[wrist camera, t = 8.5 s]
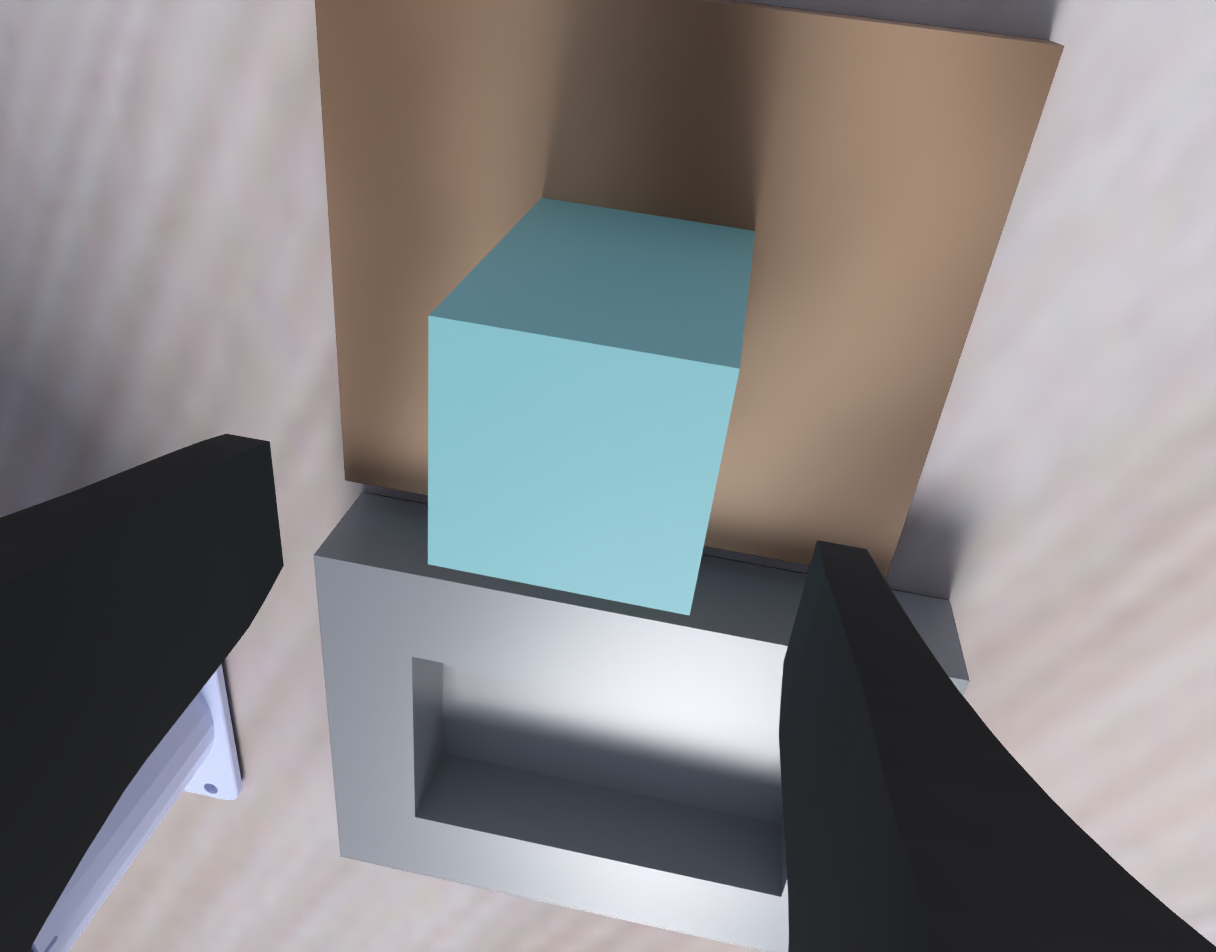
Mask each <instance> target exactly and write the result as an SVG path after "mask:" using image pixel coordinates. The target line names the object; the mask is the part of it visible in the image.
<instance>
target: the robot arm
mask: <svg viewBox="0 0 1216 952" xmlns="http://www.w3.org/2000/svg"><path fill="white" fill-rule="evenodd" d="M283 566H284V565H283V556H282V547H281V538H280V529H279V520H278V512H277V503H276V494H275V485H274V476H273V467H272V458H271V449H270V442H269V441H263V440H258V439H252V438H247V437H241V436H236V435H230V434H224V435H221V436H217V437H214V438H210V439H207V440H204V441H201V442H199V443H196V444H193V445H190V446H188V447H185V448H182V449H180V450H177V451H174V452H172V453H169V454H167V455H164V456H162V457H159V458H157V459H154V460H152V461H149V462H147V463H144V464H141V465H139V466H136V467H134V468H131V469H129V470H126V471H124V472H121V473H119V474H116V475H114V476H111V477H109V478H106V479H104V480H101V481H99V482H96V483H94V484H91V485H89V486H86V487H84V488H81V489H79V490H76V491H73V492H71V493H68V494H65V495H63V496H60V497H57V498H54V499H52V500H49V501H46V502H43V503H41V504H38V505H35V506H32V507H29V508H27V509H24V510H21V511H18V512H16V513H13V514H10V515H7V516H5V517H2V518H0V952H69V950H70V949H71V948H72V946H73V945H74V943H75V942H76V941H77V939H78V938H79V936H80V935H81V933H82V932H83V931H84V929H85V928H86V926H87V925H88V924H89V922H90V921H91V919H92V918H93V917H94V915H95V914H96V912H97V911H98V910H99V908H100V907H101V905H102V904H103V903H104V901H105V900H106V898H107V897H108V896H109V894H110V893H111V891H112V890H113V889H114V887H115V886H116V884H117V883H118V882H119V880H120V879H121V877H122V876H123V875H124V873H125V872H126V870H127V869H128V867H129V866H130V865H131V863H132V862H133V860H134V859H135V858H136V856H137V855H138V853H139V852H140V851H141V849H142V848H143V846H144V845H145V844H146V842H147V841H148V839H149V838H150V837H151V835H152V834H153V832H154V831H155V830H156V828H157V827H158V825H159V824H160V823H161V821H162V820H163V818H164V817H165V816H166V814H167V813H168V811H169V810H170V808H171V807H172V806H173V804H174V803H175V801H176V800H177V799H178V797H179V796H180V794H181V793H182V792H183V791H188V792H193V793H197V794H202V795H206V796H211V797H215V798H220V799H224V800H233V799H236V798H237V797H238V795H239V794H240V792H241V791H242V781H241V775H240V770H239V764H238V758H237V752H236V746H235V740H234V734H233V728H232V723H231V717H230V711H229V705H228V699H227V693H226V687H225V681H224V676H223V670H222V664H221V663H222V662H223V661H224V659H225V658H226V657H227V656H228V654H229V653H230V652H231V650H232V649H233V648H234V646H235V645H236V644H237V642H238V641H239V640H240V638H241V637H242V636H243V634H244V633H245V632H246V630H247V629H248V628H249V626H250V624H251V623H252V621H253V619H254V618H255V616H256V614H257V613H258V611H259V609H260V608H261V606H262V604H263V602H264V601H265V599H266V597H267V595H268V593H269V592H270V590H271V588H272V586H273V584H274V582H275V580H276V579H277V577H278V575H279V573H280V571H281V569H282V567H283ZM779 748H780V767H781V785H782V802H783V819H784V835H785V852H786V869H787V885H788V913H789V946H788V952H1216V947H1215V946H1214V945H1213V944H1212V943H1210V942H1209V941H1208V940H1207V939H1206V938H1204V937H1203V936H1202V935H1201V934H1199V933H1198V932H1197V931H1196V930H1195V929H1193V928H1192V927H1191V926H1190V925H1188V924H1187V923H1186V922H1185V921H1184V920H1182V919H1181V918H1180V917H1179V916H1177V915H1176V914H1175V913H1174V912H1173V911H1171V910H1170V909H1169V908H1168V907H1167V906H1166V905H1164V904H1163V903H1162V902H1161V901H1160V900H1159V899H1158V898H1156V897H1155V896H1154V895H1153V894H1152V893H1151V892H1150V891H1148V890H1147V889H1146V888H1145V887H1144V886H1143V885H1142V884H1140V883H1139V882H1138V881H1137V880H1136V879H1135V878H1133V877H1132V876H1131V875H1130V874H1129V873H1128V872H1127V871H1126V870H1125V869H1124V868H1123V867H1122V866H1120V865H1119V864H1118V863H1117V862H1116V861H1115V860H1114V859H1113V858H1112V857H1111V856H1110V855H1109V854H1108V853H1107V852H1106V851H1105V850H1103V849H1102V848H1101V847H1100V846H1099V845H1098V844H1097V843H1096V842H1095V841H1094V840H1093V839H1092V838H1091V837H1090V836H1089V835H1088V834H1086V833H1085V832H1084V831H1083V830H1082V829H1081V828H1080V827H1079V826H1078V825H1077V824H1076V823H1075V822H1074V821H1073V820H1072V819H1071V818H1070V817H1069V816H1068V815H1067V814H1066V813H1065V812H1064V811H1063V810H1062V809H1061V808H1060V807H1059V806H1058V805H1057V804H1056V803H1055V802H1054V801H1053V800H1052V799H1051V798H1050V797H1049V796H1048V795H1047V794H1046V792H1045V791H1044V790H1043V789H1042V788H1041V787H1040V786H1039V785H1038V784H1037V783H1036V782H1035V780H1034V779H1033V778H1032V777H1031V776H1030V775H1029V774H1028V773H1027V772H1026V771H1025V770H1024V768H1023V767H1022V766H1021V765H1020V764H1019V763H1018V762H1017V761H1016V760H1015V759H1014V758H1013V756H1012V755H1011V754H1010V753H1009V752H1008V751H1007V750H1006V749H1005V747H1004V746H1003V745H1002V744H1001V743H1000V741H999V740H998V739H997V738H996V737H995V736H994V734H993V733H992V732H991V731H990V730H989V728H988V727H987V726H986V725H985V723H984V722H983V721H982V720H981V718H980V717H979V716H978V714H977V713H976V712H975V711H974V709H973V708H972V707H971V706H970V704H969V703H968V702H967V700H966V699H965V698H964V697H963V695H962V694H961V693H960V691H959V690H958V689H957V687H956V686H955V685H954V683H953V682H952V680H951V679H950V678H949V676H948V675H947V673H946V672H945V671H944V669H943V668H942V666H941V665H940V663H939V662H938V660H937V659H936V657H935V656H934V655H933V653H932V652H931V650H930V649H929V647H928V646H927V644H926V643H925V641H924V640H923V638H922V637H921V635H920V634H919V632H918V631H917V629H916V628H915V626H914V625H913V623H912V621H911V620H910V618H909V617H908V615H907V614H906V612H905V610H904V609H903V607H902V606H901V604H900V602H899V601H898V599H897V597H896V596H895V594H894V593H893V591H892V589H891V588H890V586H889V584H888V583H887V581H886V579H885V578H884V576H883V574H882V573H881V571H880V569H879V568H878V566H877V564H876V563H875V561H874V560H873V558H872V556H871V555H870V553H869V552H868V551H867V549H864V548H858V547H853V546H847V545H842V544H836V543H830V542H825V541H819V540H817V542H816V546H815V549H814V553H813V556H812V560H811V564H810V567H809V571H808V575H807V578H806V582H805V585H804V589H803V593H802V596H801V600H800V604H799V607H798V611H797V615H796V618H795V622H794V625H793V629H792V633H791V636H790V640H789V644H788V647H787V651H786V655H785V658H784V662H783V675H782V689H781V703H780V720H779Z"/></svg>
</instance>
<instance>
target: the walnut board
mask: <svg viewBox="0 0 1216 952" xmlns="http://www.w3.org/2000/svg"><path fill="white" fill-rule="evenodd" d="M315 9H316V25H317V41H318V57H319V73H320V89H321V105H322V120H323V136H324V152H325V168H326V184H327V200H328V216H329V232H330V247H331V263H332V279H333V295H334V311H335V327H336V343H337V359H338V374H339V390H340V406H341V422H342V438H343V454H344V470H345V480H346V481H352V482H357V483H362V484H368V485H373V486H379V487H384V488H390V489H395V490H401V491H406V492H412V493H417V494H423V495H428V316H429V315H430V313H431V312H432V311H433V310H434V309H435V308H436V307H437V306H438V305H439V304H440V303H441V302H442V301H443V300H444V299H445V298H446V297H447V296H448V295H449V294H450V293H451V292H452V291H453V290H454V289H455V287H456V286H457V285H458V284H459V283H460V282H461V281H462V280H463V279H464V278H465V277H466V276H467V275H468V274H469V273H470V272H471V271H472V270H473V269H474V268H475V267H476V266H477V265H478V264H479V262H480V261H481V260H482V259H483V258H484V257H485V256H486V255H487V254H488V253H489V252H490V251H491V250H492V249H493V248H494V247H495V246H496V245H497V244H498V243H499V242H500V241H501V240H502V239H503V237H504V236H505V235H506V234H507V233H508V232H509V231H510V230H511V229H512V228H513V227H514V226H515V225H516V224H517V223H518V222H519V221H520V220H521V219H522V218H523V217H524V216H525V215H526V214H527V213H528V211H529V210H530V209H531V208H532V207H533V206H534V205H535V204H536V203H537V202H538V201H539V200H540V199H541V198H547V199H553V200H560V201H566V202H572V203H579V204H585V205H592V206H598V207H604V208H611V209H617V210H624V211H630V212H636V213H643V214H649V215H656V216H662V217H668V218H675V219H681V220H687V221H694V222H700V223H707V224H713V225H719V226H726V227H732V228H739V229H745V230H751V231H755V238H754V246H753V255H752V264H751V273H750V282H749V291H748V300H747V309H746V318H745V327H744V336H743V345H742V354H741V363H740V370H739V375H738V380H737V385H736V390H735V395H734V400H733V405H732V410H731V414H730V419H729V424H728V429H727V434H726V439H725V444H724V449H723V454H722V459H721V464H720V469H719V473H718V478H717V483H716V488H715V493H714V498H713V503H712V508H711V513H710V518H709V523H708V528H707V532H706V537H705V542H704V546H707V547H712V548H718V549H723V550H729V551H734V552H740V553H745V554H750V555H756V556H761V557H767V558H772V559H778V560H783V561H789V562H794V563H800V564H805V565H810V564H811V560H812V556H813V553H814V549H815V546H816V542H817V540H819V541H825V542H830V543H836V544H842V545H847V546H853V547H858V548H864V549H867V551H868V552H869V553H870V555H871V556H872V558H873V560H874V561H875V563H876V564H877V566H878V568H879V569H880V571H881V573H882V574H883V576H884V578H885V579H886V577H887V574H888V571H889V568H890V565H891V562H892V559H893V556H894V553H895V550H896V547H897V544H898V541H899V538H900V535H901V532H902V529H903V526H904V523H905V520H906V517H907V514H908V511H909V508H910V505H911V502H912V499H913V496H914V493H915V490H916V487H917V484H918V481H919V478H920V475H921V472H922V469H923V466H924V463H925V460H926V457H927V454H928V451H929V448H930V446H931V443H932V440H933V437H934V434H935V431H936V428H937V425H938V422H939V419H940V416H941V413H942V410H943V407H944V404H945V401H946V398H947V395H948V392H949V389H950V386H951V383H952V380H953V377H954V374H955V371H956V368H957V365H958V362H959V359H960V356H961V353H962V350H963V347H964V344H965V341H966V338H967V335H968V332H969V329H970V326H971V323H972V320H973V317H974V314H975V311H976V308H977V305H978V302H979V299H980V296H981V293H982V290H983V287H984V284H985V281H986V278H987V275H988V272H989V269H990V266H991V263H992V260H993V257H994V254H995V251H996V248H997V245H998V242H999V239H1000V236H1001V233H1002V230H1003V227H1004V224H1005V221H1006V218H1007V215H1008V212H1009V209H1010V206H1011V203H1012V200H1013V197H1014V195H1015V192H1016V189H1017V186H1018V183H1019V180H1020V177H1021V174H1022V171H1023V168H1024V165H1025V162H1026V159H1027V156H1028V153H1029V150H1030V147H1031V144H1032V141H1033V138H1034V135H1035V132H1036V129H1037V126H1038V123H1039V120H1040V117H1041V114H1042V111H1043V108H1044V105H1045V102H1046V99H1047V96H1048V93H1049V90H1050V87H1051V84H1052V81H1053V78H1054V75H1055V72H1056V69H1057V66H1058V63H1059V60H1060V57H1061V54H1062V51H1063V48H1064V46H1063V45H1060V44H1058V43H1055V42H1052V41H1049V40H1041V39H1033V38H1025V37H1017V36H1009V35H1001V34H993V33H985V32H977V31H969V30H961V29H953V28H945V27H937V26H929V25H921V24H913V23H905V22H898V21H890V20H882V19H874V18H866V17H858V16H850V15H842V14H834V13H826V12H818V11H810V10H802V9H794V8H786V7H778V6H770V5H762V4H754V3H746V2H738V1H730V0H315Z"/></svg>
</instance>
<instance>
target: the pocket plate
mask: <svg viewBox="0 0 1216 952" xmlns="http://www.w3.org/2000/svg"><path fill="white" fill-rule="evenodd" d="M314 565H315V576H316V587H317V598H318V609H319V621H320V632H321V643H322V654H323V665H324V676H325V688H326V699H327V710H328V721H329V732H330V743H331V755H332V766H333V777H334V788H335V799H336V811H337V822H338V833H339V844H340V855H341V857H345V858H350V859H354V860H358V861H363V862H367V863H372V864H376V865H381V866H385V867H390V868H394V869H399V870H403V871H408V872H412V873H417V874H421V875H425V876H430V877H434V878H439V879H443V880H448V881H452V882H457V883H461V884H466V885H470V886H475V887H479V888H484V889H488V890H492V891H497V892H501V893H506V894H510V895H515V896H519V897H524V898H528V899H533V900H537V901H542V902H546V903H551V904H555V905H559V906H564V907H568V908H573V909H577V910H582V911H586V912H591V913H595V914H600V915H604V916H609V917H613V918H617V919H622V920H626V921H631V922H635V923H640V924H644V925H649V926H653V927H658V928H662V929H667V930H671V931H676V932H680V933H684V934H689V935H693V936H698V937H702V938H707V939H711V940H716V941H720V942H725V943H729V944H734V945H738V946H743V947H747V948H751V949H756V950H760V951H765V952H788V946H789V913H788V885H787V869H786V852H785V835H784V819H783V802H782V785H781V767H780V748H779V720H780V703H781V689H782V675H783V662H784V658H785V655H786V651H787V647H788V644H789V640H790V636H791V633H792V629H793V625H794V622H795V618H796V615H797V611H798V607H799V604H800V600H801V596H802V593H803V589H804V585H805V582H806V578H807V575H808V574H803V573H797V572H792V571H787V570H781V569H776V568H770V567H765V566H759V565H754V564H749V563H743V562H738V561H732V560H727V559H721V558H716V557H710V556H705V555H702V557H701V562H700V567H699V572H698V577H697V582H696V587H695V591H694V596H693V601H692V606H691V611H690V616H689V615H684V614H679V613H674V612H669V611H664V610H659V609H654V608H648V607H643V606H638V605H633V604H628V603H623V602H618V601H613V600H608V599H603V598H597V597H592V596H587V595H582V594H577V593H572V592H567V591H562V590H557V589H552V588H546V587H541V586H536V585H531V584H526V583H521V582H516V581H511V580H506V579H501V578H496V577H490V576H485V575H480V574H475V573H470V572H465V571H460V570H455V569H450V568H445V567H439V566H434V565H429V564H428V504H422V503H417V502H411V501H406V500H401V499H395V498H390V497H384V496H379V495H373V494H368V493H363V492H362V493H361V495H360V496H359V497H358V499H357V500H356V501H355V502H354V504H353V505H352V506H351V508H350V509H349V510H348V511H347V513H346V514H345V515H344V517H343V518H342V519H341V521H340V522H339V523H338V524H337V526H336V527H335V528H334V530H333V531H332V532H331V533H330V535H329V536H328V537H327V539H326V540H325V541H324V543H323V544H322V545H321V546H320V548H319V549H318V550H317V552H316V553H315V554H314ZM892 591H893V593H894V594H895V596H896V597H897V599H898V601H899V602H900V604H901V606H902V607H903V609H904V610H905V612H906V614H907V615H908V617H909V618H910V620H911V621H912V623H913V625H914V626H915V628H916V629H917V631H918V632H919V634H920V635H921V637H922V638H923V640H924V641H925V643H926V644H927V646H928V647H929V649H930V650H931V652H932V653H933V655H934V656H935V657H936V659H937V660H938V662H939V663H940V665H941V666H942V668H943V669H944V671H945V672H946V673H947V675H948V676H949V678H950V679H951V680H952V682H953V683H954V685H955V686H956V687H957V689H958V690H959V691H960V693H961V694H962V695H964V693H965V690H966V688H967V686H968V683H969V677H968V673H967V669H966V665H965V661H964V657H963V653H962V649H961V645H960V640H959V636H958V632H957V628H956V624H955V620H954V616H953V612H952V608H951V604H950V600H944V599H939V598H933V597H928V596H922V595H917V594H912V593H906V592H901V591H895V590H892Z"/></svg>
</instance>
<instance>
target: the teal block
mask: <svg viewBox="0 0 1216 952" xmlns="http://www.w3.org/2000/svg"><path fill="white" fill-rule="evenodd" d="M754 238H755V231H751V230H745V229H739V228H732V227H726V226H719V225H713V224H707V223H700V222H694V221H687V220H681V219H675V218H668V217H662V216H656V215H649V214H643V213H636V212H630V211H624V210H617V209H611V208H604V207H598V206H592V205H585V204H579V203H572V202H566V201H560V200H553V199H547V198H541V199H540V200H539V201H538V202H537V203H536V204H535V205H534V206H533V207H532V208H531V209H530V210H529V211H528V213H527V214H526V215H525V216H524V217H523V218H522V219H521V220H520V221H519V222H518V223H517V224H516V225H515V226H514V227H513V228H512V229H511V230H510V231H509V232H508V233H507V234H506V235H505V236H504V237H503V239H502V240H501V241H500V242H499V243H498V244H497V245H496V246H495V247H494V248H493V249H492V250H491V251H490V252H489V253H488V254H487V255H486V256H485V257H484V258H483V259H482V260H481V261H480V262H479V264H478V265H477V266H476V267H475V268H474V269H473V270H472V271H471V272H470V273H469V274H468V275H467V276H466V277H465V278H464V279H463V280H462V281H461V282H460V283H459V284H458V285H457V286H456V287H455V289H454V290H453V291H452V292H451V293H450V294H449V295H448V296H447V297H446V298H445V299H444V300H443V301H442V302H441V303H440V304H439V305H438V306H437V307H436V308H435V309H434V310H433V311H432V312H431V313H430V315H429V316H428V564H429V565H434V566H439V567H445V568H450V569H455V570H460V571H465V572H470V573H475V574H480V575H485V576H490V577H496V578H501V579H506V580H511V581H516V582H521V583H526V584H531V585H536V586H541V587H546V588H552V589H557V590H562V591H567V592H572V593H577V594H582V595H587V596H592V597H597V598H603V599H608V600H613V601H618V602H623V603H628V604H633V605H638V606H643V607H648V608H654V609H659V610H664V611H669V612H674V613H679V614H684V615H689V616H690V611H691V606H692V601H693V596H694V591H695V587H696V582H697V577H698V572H699V567H700V562H701V557H702V552H703V547H704V542H705V537H706V532H707V528H708V523H709V518H710V513H711V508H712V503H713V498H714V493H715V488H716V483H717V478H718V473H719V469H720V464H721V459H722V454H723V449H724V444H725V439H726V434H727V429H728V424H729V419H730V414H731V410H732V405H733V400H734V395H735V390H736V385H737V380H738V375H739V370H740V363H741V354H742V345H743V336H744V327H745V318H746V309H747V300H748V291H749V282H750V273H751V264H752V255H753V246H754Z"/></svg>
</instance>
